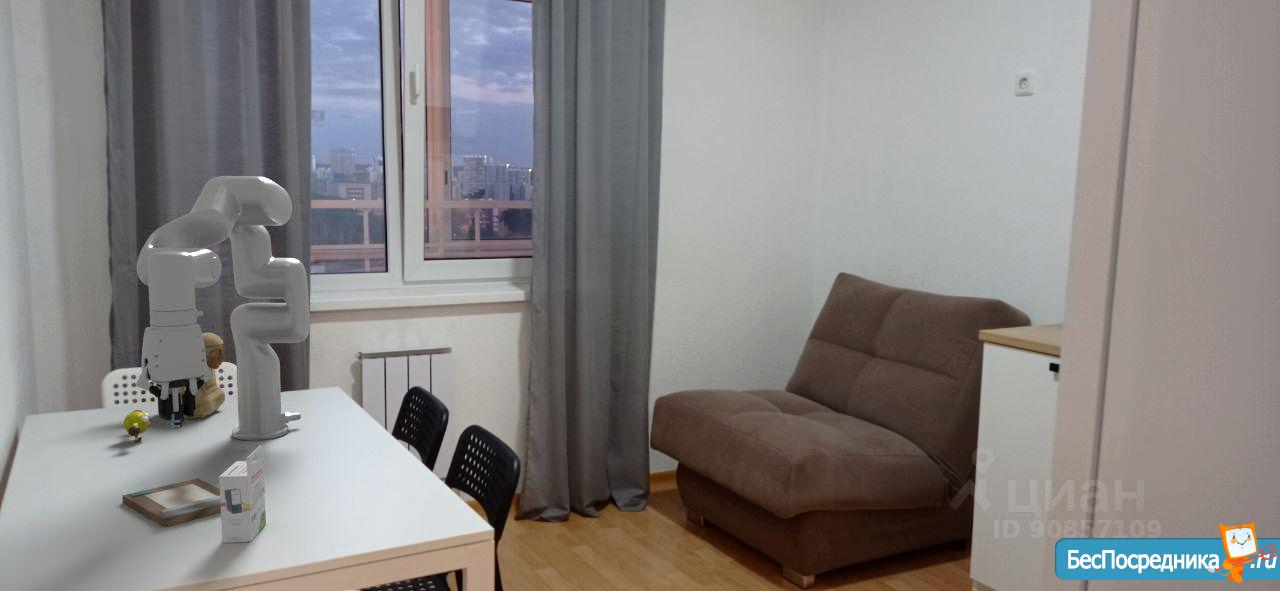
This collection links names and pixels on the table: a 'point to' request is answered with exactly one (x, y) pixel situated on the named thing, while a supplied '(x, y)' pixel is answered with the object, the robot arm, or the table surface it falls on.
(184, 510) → the brown flat wooden tray
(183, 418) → the push button
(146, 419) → the toy figure
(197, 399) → the ceramic vessel
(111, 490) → the table surface
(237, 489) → the ink box
